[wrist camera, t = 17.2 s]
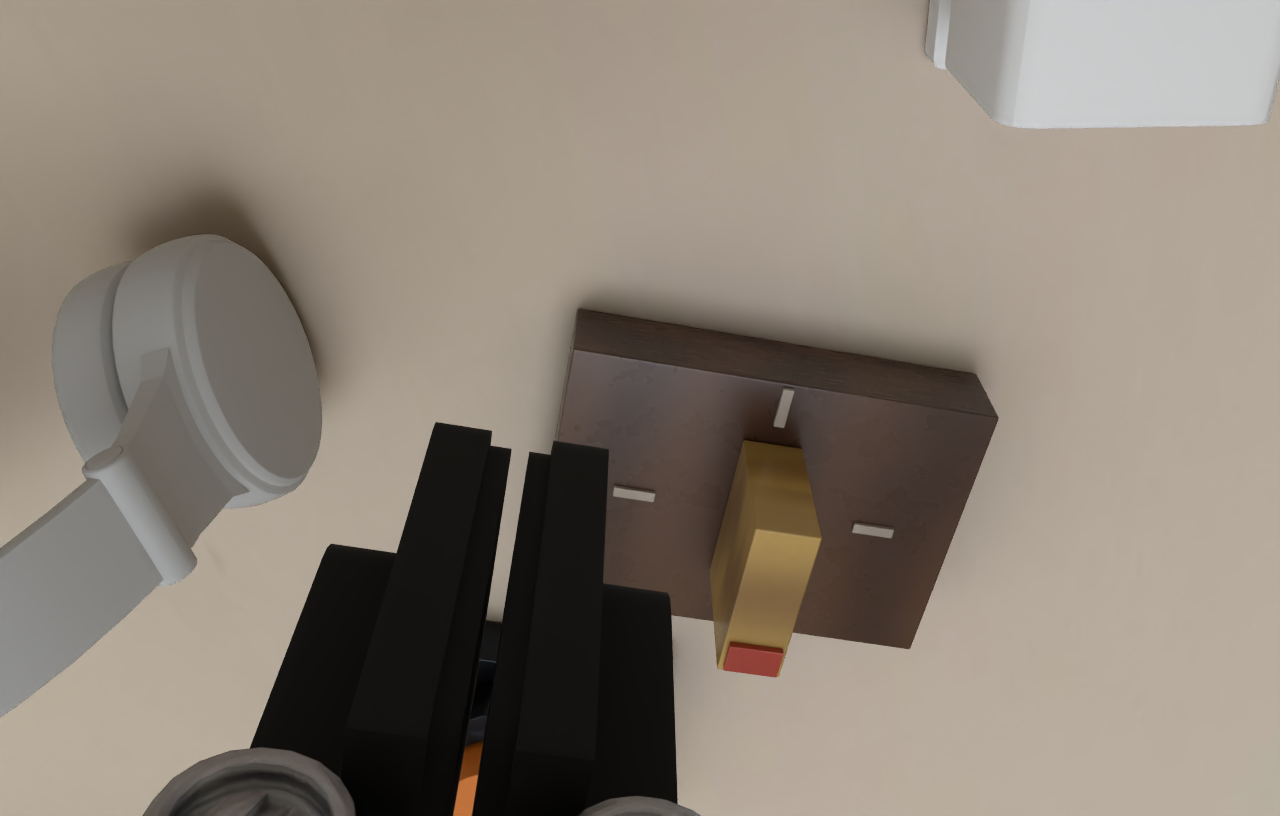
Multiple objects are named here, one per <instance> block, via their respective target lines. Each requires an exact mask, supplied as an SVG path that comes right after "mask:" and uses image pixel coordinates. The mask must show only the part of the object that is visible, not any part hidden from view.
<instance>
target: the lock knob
mask: <svg viewBox="0 0 1280 816" xmlns="http://www.w3.org/2000/svg"><path fill="white" fill-rule="evenodd" d="M821 540H822V538H821V533H820V528H819V524H818V519H817V515H816V510H815V506H814V501H813V496H812V492H811V487H810V483H809V478H808V474H807V469H806V465H805V460H804V455H803V451H802V449H799V448H793V447H786V446H780V445H773V444H767V443H760V442H754V441H747V440H744V441H743V444H742V447H741V451H740V455H739V459H738V463H737V467H736V471H735V475H734V478H733V482H732V486H731V490H730V494H729V498H728V502H727V505H726V509H725V513H724V517H723V521H722V525H721V529H720V533H719V536H718V540H717V544H716V548H715V552H714V556H713V560H712V563H711V567H710V582H711V595H712V608H713V620H714V633H715V645H716V658H717V668H718V669H723V670H725V671H733V672H740V673H747V674H755V675H762V676H769V677H778V676H779V674H780V671H781V668H782V665H783V661H784V658H785V655H786V652H787V649H788V645H789V642H790V639H791V636H792V633H793V629H794V626H795V623H796V620H797V617H798V613H799V610H800V607H801V604H802V601H803V597H804V594H805V591H806V588H807V585H808V581H809V578H810V575H811V572H812V569H813V565H814V562H815V559H816V556H817V553H818V549H819V546H820V543H821Z"/></svg>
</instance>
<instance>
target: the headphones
mask: <svg viewBox="0 0 1280 816" xmlns="http://www.w3.org/2000/svg"><path fill="white" fill-rule="evenodd" d="M52 367H53V375H54V383H55V389H56V393H57V397H58V401H59V406H60V409H61V412H62V415H63V418H64V421H65V424H66V426H67V429H68V431H69V433H70V435H71V438H72V440H73V442H74V444H75V446H76V448H77V450H78V451H79V453H80V455H81V457H82V458H83V460H84V462H85V464H84V466H83V468H82V473H83V475H84V476H85V478H86V479H87V480H86V481H85V482H84V483H83V484H81V485H80V486H79V487H78V488H77V489H75V490H74V491H73V492H72V493H70V494H69V495H68V496H67V497H66V498H64V499H63V500H62V501H61V502H59V503H58V504H57V505H56V506H54V507H53V508H52V509H51V510H50V511H48V512H47V513H46V514H45V515H43V516H42V517H41V518H39V519H38V520H37V521H35V522H34V523H33V524H31V525H30V526H29V527H28V528H26V529H25V530H24V531H22V532H21V533H20V534H18V535H17V536H16V537H14V538H13V539H12V540H11V541H9V542H8V543H7V544H5V545H4V546H3V547H1V548H0V717H2V716H3V715H5V714H6V713H8V712H9V711H11V710H12V709H14V708H15V707H17V706H18V705H19V704H20V703H22V702H23V701H24V700H26V699H27V698H28V697H29V696H31V695H32V694H33V693H35V692H36V691H37V690H39V689H40V688H41V687H42V686H44V685H45V684H46V683H48V682H49V681H50V680H51V679H53V678H54V677H55V676H57V675H58V674H59V673H61V672H62V671H63V670H64V669H66V668H67V667H68V666H70V665H71V664H72V663H74V662H75V661H76V660H77V659H78V658H79V657H80V656H82V655H83V654H84V653H85V652H86V651H87V650H88V649H89V648H91V647H92V646H93V645H94V644H95V643H96V642H97V641H98V640H100V639H101V638H102V637H103V636H104V635H105V634H106V633H107V632H109V631H110V630H111V629H112V628H113V627H114V626H115V625H116V624H118V623H119V622H120V621H121V620H122V619H123V618H124V617H125V616H126V615H127V614H129V613H130V612H131V611H132V610H133V609H134V608H135V607H136V606H137V605H138V604H139V603H140V602H141V601H142V600H143V599H144V598H145V597H146V596H147V595H148V594H149V593H151V592H152V591H153V590H154V589H155V588H156V587H157V586H168V585H172V584H174V583H176V582H179V581H180V580H182V579H184V578H185V577H186V576H188V575H189V574H190V573H191V572H192V571H193V570H194V568H195V567H196V564H197V558H196V556H195V555H194V553H193V552H192V550H191V547H193V545H194V544H195V542H196V540H197V539H198V537H199V535H200V534H201V533H202V531H203V530H204V529H205V528H206V527H207V526H208V525H209V524H210V523H211V522H212V520H213V519H214V518H215V517H216V516H217V514H218V513H219V512H220V511H221V510H222V509H233V508H242V507H249V506H255V505H260V504H264V503H267V502H269V501H272V500H274V499H277V498H279V497H281V496H283V495H286V494H288V493H289V492H291V491H293V490H295V489H296V488H297V487H298V486H299V485H300V484H301V483H302V482H303V480H304V478H305V477H306V475H307V473H308V471H309V469H310V467H311V466H312V464H313V462H314V460H315V458H316V455H317V452H318V449H319V444H320V439H321V429H322V405H321V396H320V388H319V382H318V377H317V372H316V368H315V364H314V360H313V356H312V353H311V349H310V346H309V343H308V340H307V337H306V335H305V332H304V329H303V327H302V324H301V322H300V320H299V318H298V315H297V313H296V311H295V309H294V307H293V305H292V303H291V301H290V300H289V298H288V296H287V294H286V293H285V291H284V289H283V288H282V286H281V285H280V283H279V282H278V280H277V279H276V278H275V276H274V275H273V274H272V272H271V271H270V270H269V269H268V267H267V266H266V265H265V264H264V263H263V262H262V261H261V260H260V259H259V258H258V257H256V256H255V255H254V254H253V253H252V252H250V251H249V250H247V249H245V248H244V247H242V246H240V245H238V244H236V243H234V242H232V241H231V240H229V239H227V238H225V237H222V236H218V235H215V234H202V235H194V236H187V237H182V238H178V239H175V240H172V241H169V242H166V243H164V244H161V245H159V246H156V247H154V248H152V249H150V250H148V251H146V252H145V253H143V254H142V255H140V256H139V257H138V258H137V259H135V260H134V261H129V262H123V263H119V264H116V265H113V266H110V267H108V268H105V269H102V270H100V271H97V272H95V273H93V274H91V275H89V276H88V277H86V278H85V279H83V280H82V281H81V282H79V283H78V284H77V285H75V286H74V287H73V288H72V290H71V291H70V292H69V293H68V295H67V296H66V297H65V299H64V301H63V303H62V305H61V308H60V310H59V312H58V315H57V319H56V323H55V327H54V333H53V343H52Z"/></svg>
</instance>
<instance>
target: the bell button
mask: <svg viewBox="0 0 1280 816" xmlns="http://www.w3.org/2000/svg"><path fill="white" fill-rule="evenodd" d="M482 746H483V741H482V742H478V743H474V744H470V745H468V746H466V747H465V750H464V756H463V762H462V768H461V774H460V779H459V785H458V791H457V797H456V803H455V808H454V814H453V816H472V811H473V804H474V798H475V792H476V785H477V779H478V772H479V766H480V759H481V753H482Z"/></svg>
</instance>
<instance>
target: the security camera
mask: <svg viewBox="0 0 1280 816" xmlns="http://www.w3.org/2000/svg"><path fill="white" fill-rule="evenodd" d="M925 53H926V56H927V57H928V58H929V59H930V60H931V61H932V63H933V64H934V65H935V66H936V67H937V68H939V69H943V70H945V69H948V70H949V71H950V73H951V74H952V75H953V76H954V77H955V78H956V79H957V81H958V82H959V83H960V84H961V85H962V86H963V87H964V89H965V90H966V91H967V92H968V93H969V94H970V95H971V96H972V98H973V99H974V100H975V101H976V102H977V103H978V104H979V106H980V107H981V108H982V109H983V110H984V111H985V112H986V114H987V115H988V116H989V117H990V118H991V119H992V120H993V121H995V122H996V123H999V124H1002V125H1005V126H1009V127H1015V128H1023V129H1056V128H1122V127H1187V126H1247V125H1257V124H1262V123H1265V122H1266V121H1268V120H1269V118H1270V114H1271V110H1272V106H1273V102H1274V98H1275V94H1276V90H1277V86H1278V82H1279V78H1280V0H930V4H929V14H928V24H927V34H926V44H925Z"/></svg>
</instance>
